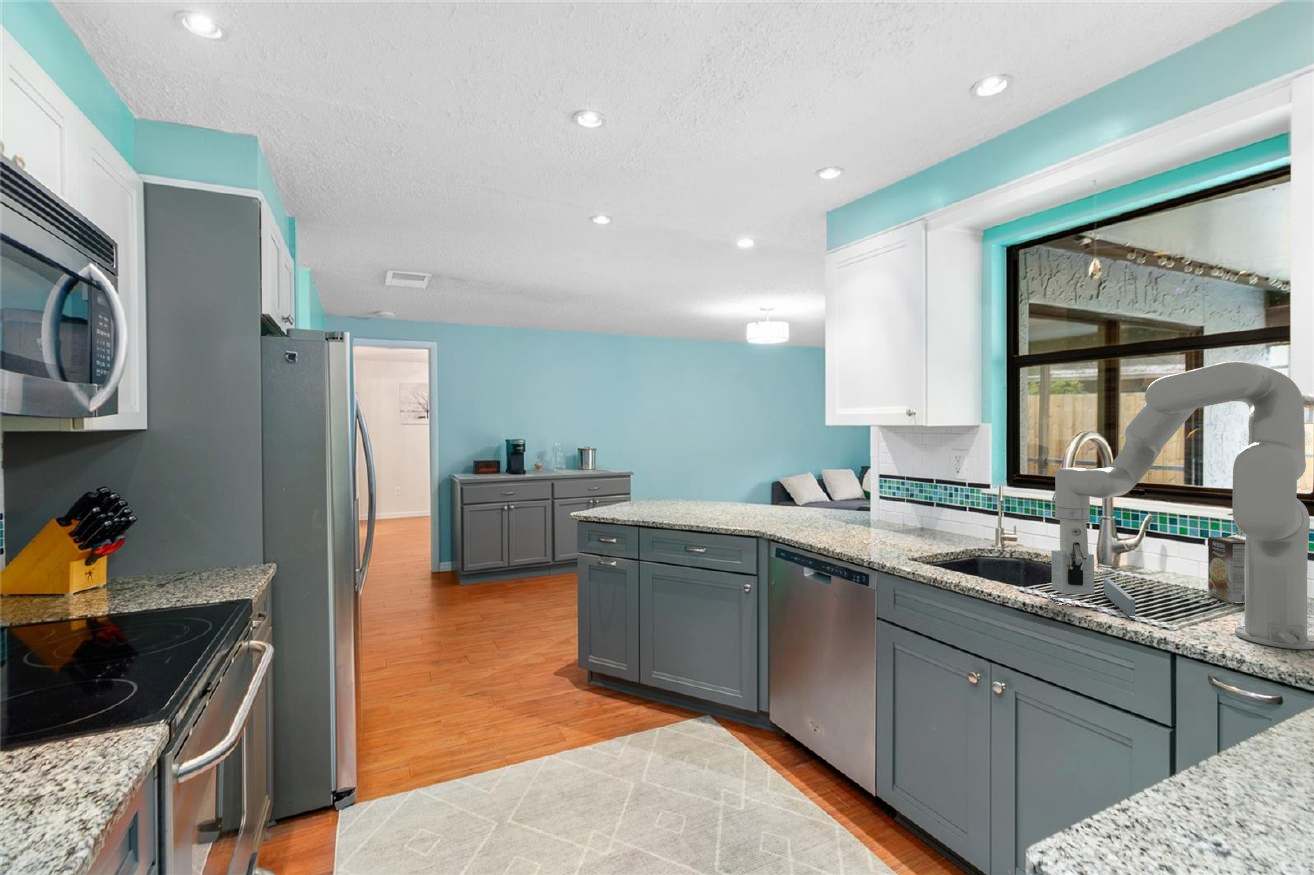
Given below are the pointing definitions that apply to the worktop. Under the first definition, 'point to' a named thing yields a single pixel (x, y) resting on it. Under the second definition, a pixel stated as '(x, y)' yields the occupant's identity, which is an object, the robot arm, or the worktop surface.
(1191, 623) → the worktop surface
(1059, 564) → the small box
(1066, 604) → the mat
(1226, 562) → the coffee box
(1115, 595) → the low wall
